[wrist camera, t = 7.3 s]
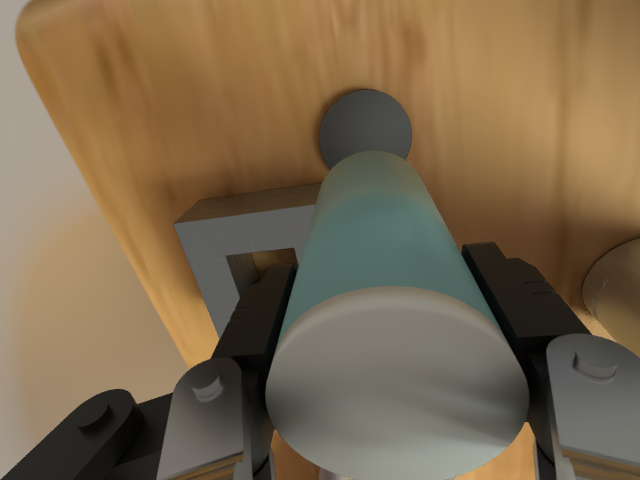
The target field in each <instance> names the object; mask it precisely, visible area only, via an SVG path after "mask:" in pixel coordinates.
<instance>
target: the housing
mask: <svg viewBox="0 0 640 480" xmlns="http://www.w3.org/2000/svg"><path fill="white" fill-rule="evenodd" d="M322 183H323V182H320V183H313V184H307V185H300V186H293V187H286V188H279V189H273V190H266V191H259V192H252V193H245V194H238V195H232V196H225V197H218V198H211V199H204V200H199V201H198V202H197V203H196V204H195V205H194V206H192V207H191V208H190V209H189V210H188V211H187V212H186V213H185V214H184V215H183V216H181V217H180V218H179V219H178V220H177V221H176V222H175V223H174V227H175V229H176V232H177V234H178V237H179V239H180V242H181V244H182V247H183V249H184V252H185V254H186V257H187V259H188V262H189V264H190V267H191V269H192V272H193V274H194V277H195V279H196V282H197V284H198V287H199V289H200V292H201V294H202V297H203V299H204V302H205V304H206V307H207V309H208V312H209V314H210V317H211V319H212V322H213V324H214V327H215V329H216V332H217V334H218V337H219V339H220V338H221V336H222V334H223V332H224V330H225V328H226V326H227V324H228V322H229V321H230V317H231V315H232V313H233V311H235V307H236V305H237V303H238V301H239V299H240V297H241V295H242V294H243V293H244V292H245V291H246V290H247V289H249V288H250V287H251V286H252V285H253V284H261V282H262V280H263V279H259V278H258V274H257V271H256V268H255V265H254V261H253V258H252V255H251V252H260V251H268V250H277V249H285V248H294V249H295V253H296V257H297V261H298V265H299V263H300V260H301V256H302V252H303V249H304V245H305V241H306V238H307V234H308V231H309V227H310V223H311V220H312V216H313V212H314V209H315V205H316V202H317V198H318V194H319V191H320V188H321V185H322Z"/></svg>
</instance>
